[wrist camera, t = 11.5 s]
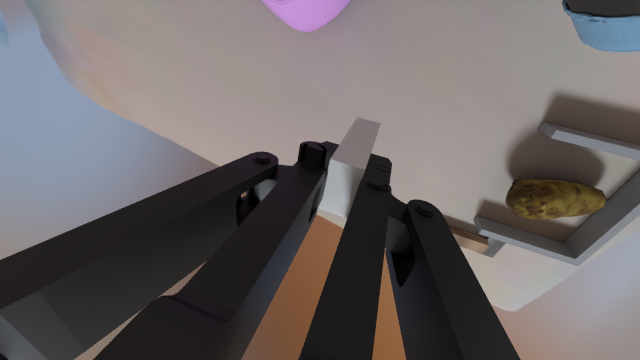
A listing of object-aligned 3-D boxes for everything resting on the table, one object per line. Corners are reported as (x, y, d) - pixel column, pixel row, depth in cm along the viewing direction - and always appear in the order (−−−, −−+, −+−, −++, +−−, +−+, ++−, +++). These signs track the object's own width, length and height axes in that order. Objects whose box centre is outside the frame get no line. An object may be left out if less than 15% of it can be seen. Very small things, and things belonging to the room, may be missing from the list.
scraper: (424, 231, 53) (424, 239, 51) (433, 214, 50) (435, 221, 48) (491, 254, 50) (495, 263, 48) (505, 238, 48) (510, 246, 46)
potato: (556, 221, 43) (582, 254, 36) (488, 189, 44) (502, 215, 37) (602, 186, 38) (642, 217, 32) (525, 151, 39) (548, 174, 33)
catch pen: (543, 121, 37) (556, 130, 33) (670, 152, 34) (698, 164, 31) (473, 220, 48) (478, 233, 44) (565, 249, 45) (578, 266, 42)
